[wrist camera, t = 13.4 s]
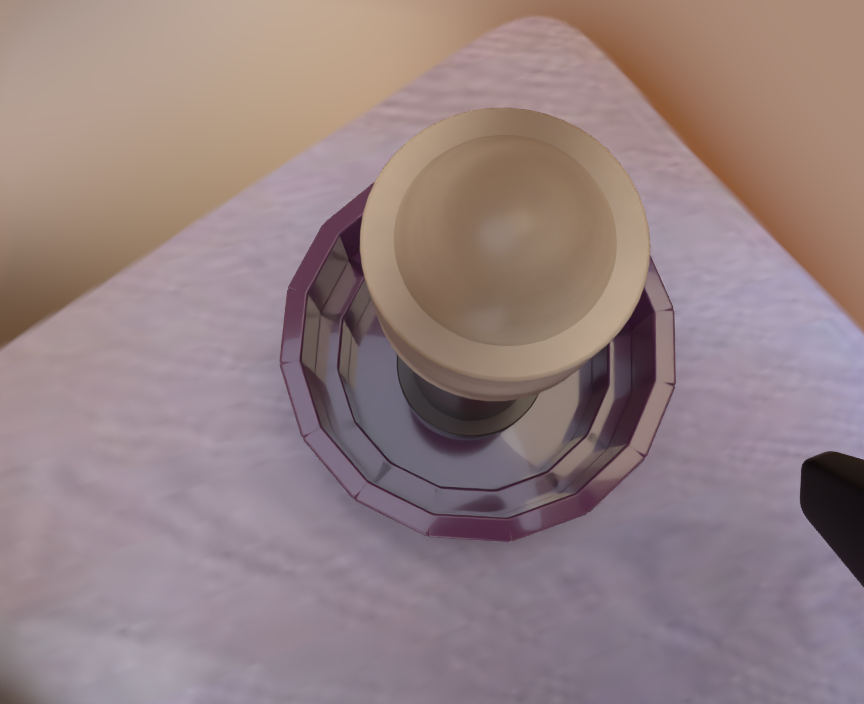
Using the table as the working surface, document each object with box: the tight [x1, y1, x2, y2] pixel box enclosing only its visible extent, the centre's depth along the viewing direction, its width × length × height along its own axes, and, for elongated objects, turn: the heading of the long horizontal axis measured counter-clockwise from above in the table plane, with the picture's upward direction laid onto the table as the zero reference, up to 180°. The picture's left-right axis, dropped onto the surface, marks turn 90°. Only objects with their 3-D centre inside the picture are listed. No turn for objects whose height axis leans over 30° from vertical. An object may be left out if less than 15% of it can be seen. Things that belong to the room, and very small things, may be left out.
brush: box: [360, 108, 650, 439], centre depth 16 cm, size 5×5×13 cm
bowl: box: [280, 182, 676, 542], centre depth 21 cm, size 11×11×5 cm
